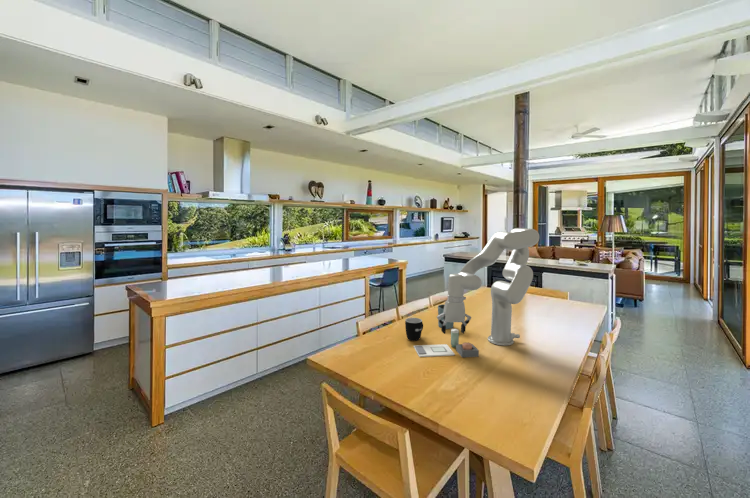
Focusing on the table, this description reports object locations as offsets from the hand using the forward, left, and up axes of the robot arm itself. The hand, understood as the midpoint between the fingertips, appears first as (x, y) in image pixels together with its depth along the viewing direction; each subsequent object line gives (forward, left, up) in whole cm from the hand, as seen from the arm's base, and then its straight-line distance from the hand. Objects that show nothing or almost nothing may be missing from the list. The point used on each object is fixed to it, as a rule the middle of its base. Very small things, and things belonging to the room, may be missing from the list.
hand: (453, 332), depth 167 cm
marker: (-1, 0, -7) cm, 7 cm away
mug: (+16, -13, -7) cm, 22 cm away
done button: (-4, +9, -6) cm, 11 cm away
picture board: (+11, +4, -7) cm, 14 cm away
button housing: (-4, +9, -7) cm, 12 cm away
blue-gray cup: (-6, -29, -7) cm, 31 cm away
